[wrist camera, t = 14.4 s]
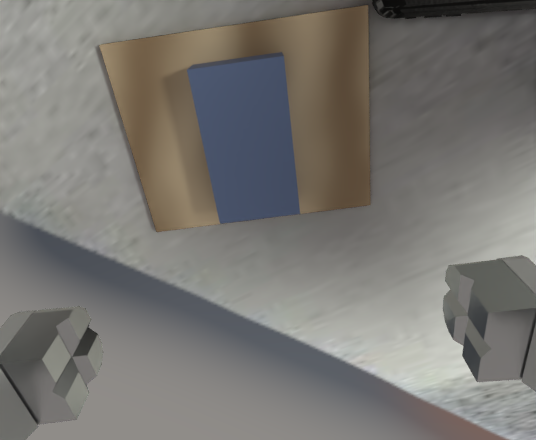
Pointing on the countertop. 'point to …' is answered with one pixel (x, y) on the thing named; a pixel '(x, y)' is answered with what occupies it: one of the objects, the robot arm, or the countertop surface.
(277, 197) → the box
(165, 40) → the mat
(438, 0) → the phone
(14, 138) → the countertop surface
